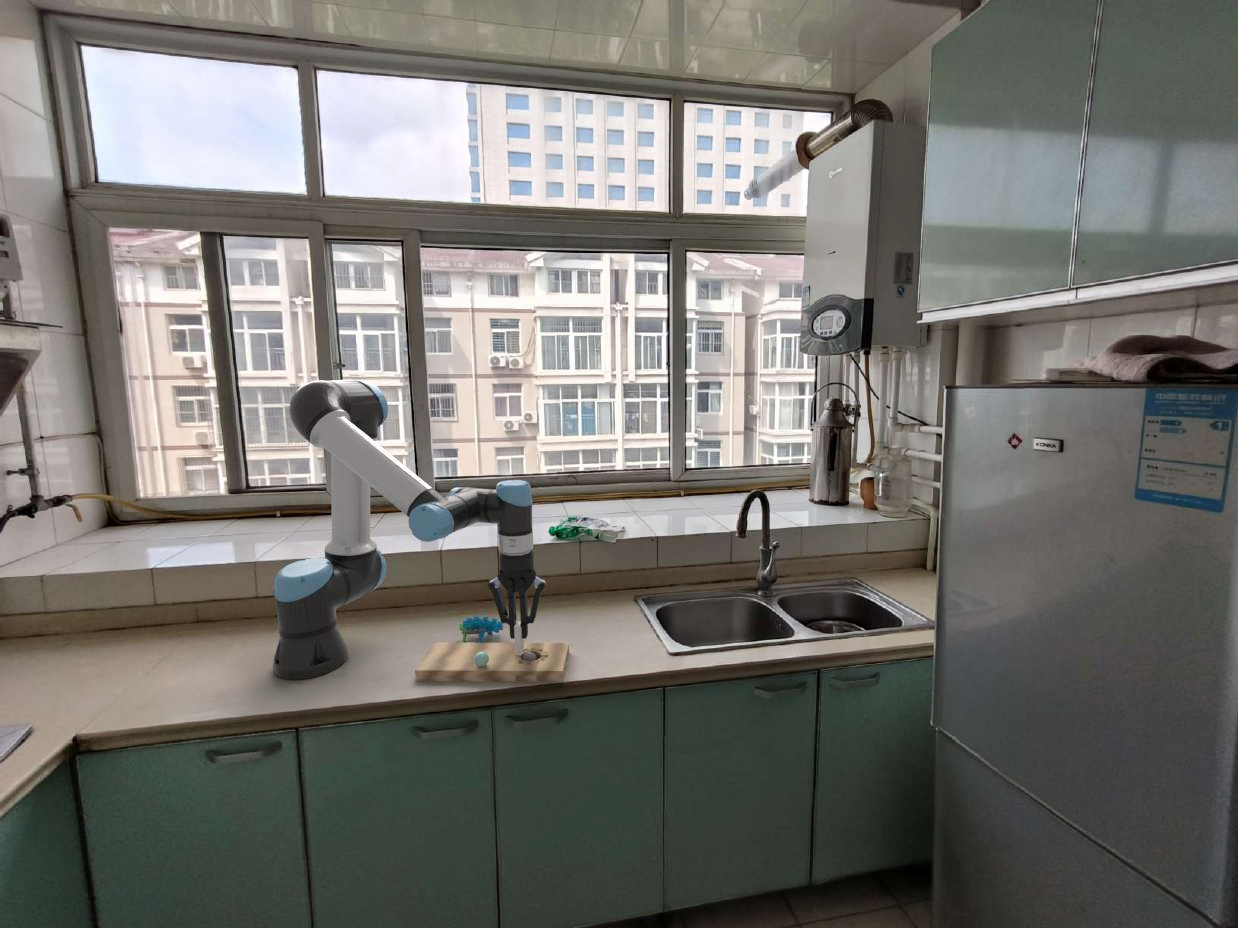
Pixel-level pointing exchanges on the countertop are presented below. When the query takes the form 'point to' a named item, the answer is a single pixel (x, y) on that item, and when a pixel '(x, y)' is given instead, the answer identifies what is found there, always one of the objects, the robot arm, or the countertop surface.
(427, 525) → the robot arm
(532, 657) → the grey ball
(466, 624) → the gear
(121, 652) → the countertop surface
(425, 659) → the board
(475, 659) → the teal ball
